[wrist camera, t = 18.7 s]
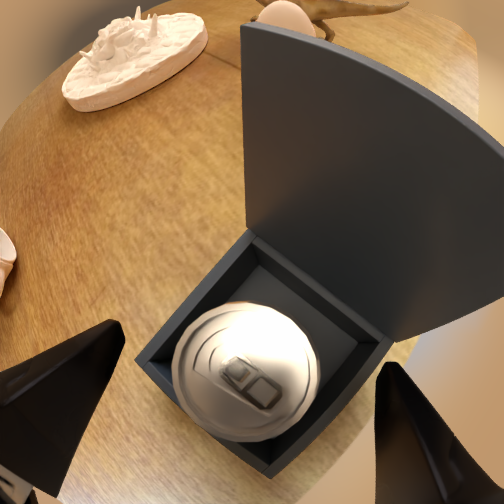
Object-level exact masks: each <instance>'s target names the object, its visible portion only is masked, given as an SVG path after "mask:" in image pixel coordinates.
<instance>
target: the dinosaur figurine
mask: <svg viewBox="0 0 504 504" xmlns="http://www.w3.org/2000/svg"><path fill="white" fill-rule="evenodd" d="M256 1H258V2H259V3H260V4H262V5H263V6H264V7H267V6H268V5H269V4H271V3H273V2H275V1H279V0H256ZM285 1H289V2H292V3H294V4H296V5H297V6H299V7H300V8H301V9H302V10H303V11H304V12H305V13H306V15H307V16H308V18H309V19H310V21H311V22H312V23H313V24H315V25H316V26H317V27H319V28H321V29H322V30H324V31H325V33H326V37H325V39H324V38H322V37H321V38H320V37H319V39H322V40H325V41H328V42H332V40H333V38H334V36H335V32H334V31H333V30H332V29H331V28H330V27H329V25H328V24H327V23H326V22H324V21H323V19H331V18H336V17H347V16H368V15H379V14H387V13H391V12H395V11H398V10H400V9H402V8H403V7H405V6H407V5H408V4H409V2H404V3H401V4H398V5H392V6H375V5H367V4H361V3H354V2H348V1H343V0H285ZM258 17H259V16H254V17H252V18H251V19H250V20H251V22H254V21H255V20H257V19H258Z"/></svg>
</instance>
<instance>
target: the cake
mask: <svg viewBox="0 0 504 504" xmlns="http://www.w3.org/2000/svg"><path fill="white" fill-rule="evenodd" d="M140 19H141V15H140V7H137V10H136V15H135V19H134V21H132V20H131V18H130V17H125V18H123V19H115V20H113V21H112V22H111V24H110V25H107V27H106V28H104V29H101V30H99V32H98V34H99V37H98V38H97V39H96V40H95V42H94V43H93V46H92V50H91V51H89V52H88V53H85V52H82V51H80V52H79V53H80V54H81V55H82V56H84V57H83V58H82V59H81V60H80V61H78V63H77V64H76V65H75V66H74V67H73V68H72V70H71V71H70V72H69V74H68V75H67V78H66V80H65V81H64V83H63V87H62V92H63V96H64V97H65V98H66V99H67V101H68V102H69V104H70V105H71V106H72V107H73V108H74V109H75V110H77V111H81V112H91V111H96V110H101V109H105V108H108V107H111V106H114V105H116V104H119V103H121V102H124V101H126V100H128V99H131V98H133V97H135V96H137V95H139V94H141V93H143V92H145V91H147V90H149V89H151V88H153V87H154V86H156V85H158V84H160V83H161V82H163V81H165V80H166V79H168V78H170V77H171V76H173V75H174V74H176V73H177V72H179V71H180V70H181V69H183V68H184V67H185V66H187V65H188V64H189V63H190V62H192V61H193V60H194V59H195V58H196V57H197V56H198V55H199V54H200V53H201V52H202V50H203V49H204V48H205V46H206V44H207V41H208V35H207V30H206V27H205V25H204V22H203V20H202V18H201V17H199V16H196V15H194V14H189V13H176V14H174V15H168V14H167V15H162V16H158V17H157V15H156V14H154V15H153V18H150V14H149V15H148V18H147V20H144V21H143V20H140Z"/></svg>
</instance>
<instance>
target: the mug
mask: <svg viewBox="0 0 504 504" xmlns="http://www.w3.org/2000/svg"><path fill="white" fill-rule="evenodd" d="M15 259H16V250H15V247H14V245H13V243H12V241H11V240H10V238H9V237H8V235H7V234H6V233H5V232H4V231H3V229H2V228H1V227H0V298H1V295H2V291H3V287H4V282H5V280H6V278H7V276H8V275H9V273H10V271H11V270H12V268H13V265H12V264H13V262H14V261H15Z"/></svg>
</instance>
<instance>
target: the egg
mask: <svg viewBox="0 0 504 504" xmlns="http://www.w3.org/2000/svg"><path fill="white" fill-rule="evenodd" d="M256 22H260V23H264V24H269V25H273V26H278V27H282V28H286V29H289V30H293V31H297V32H300V33H304V34H307V35H310V36H313V37H316V34H315V30H314V28H313V26H312V23H311V21H310V19H309V18H308V16H307V15H306V13H305V12H304V11H303V10H302V9H301V8H300V7H299V6H297V5H296V4H294V3H292V2H289V1H285V0H279V1H275V2H273V3H271V4H269V5H268V6H267V7H265V8H264V9H263V10H262V12H261V13H260V15H259V17H258V19H257V21H256Z"/></svg>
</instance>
